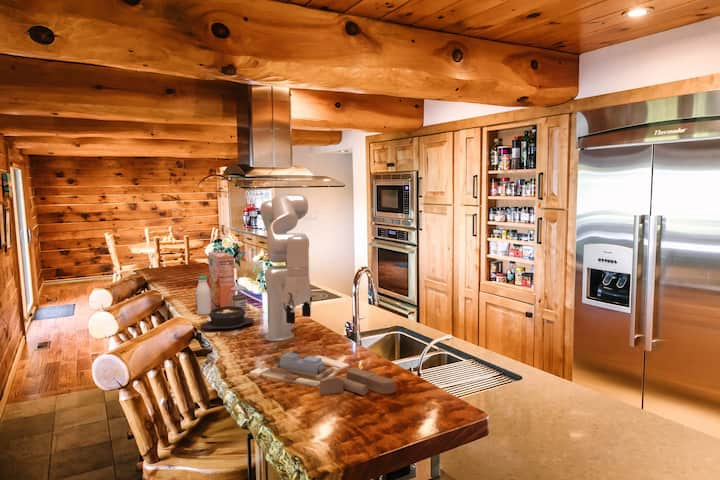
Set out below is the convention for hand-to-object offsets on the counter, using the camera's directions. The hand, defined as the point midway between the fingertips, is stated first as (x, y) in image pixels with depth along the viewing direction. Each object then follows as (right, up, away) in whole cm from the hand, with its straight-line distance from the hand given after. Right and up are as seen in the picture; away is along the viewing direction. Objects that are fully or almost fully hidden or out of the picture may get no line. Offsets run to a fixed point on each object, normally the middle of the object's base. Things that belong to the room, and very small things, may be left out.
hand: (298, 319), depth 170 cm
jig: (+1, -19, 0) cm, 19 cm away
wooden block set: (+20, -21, -17) cm, 34 cm away
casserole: (-41, -14, +61) cm, 75 cm away
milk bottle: (-61, -11, +87) cm, 107 cm away
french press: (-42, -11, +84) cm, 95 cm away
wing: (+10, -18, +11) cm, 23 cm away
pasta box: (-55, -10, +101) cm, 115 cm away
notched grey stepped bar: (+1, -18, 0) cm, 18 cm away
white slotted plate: (-14, -19, +1) cm, 24 cm away
